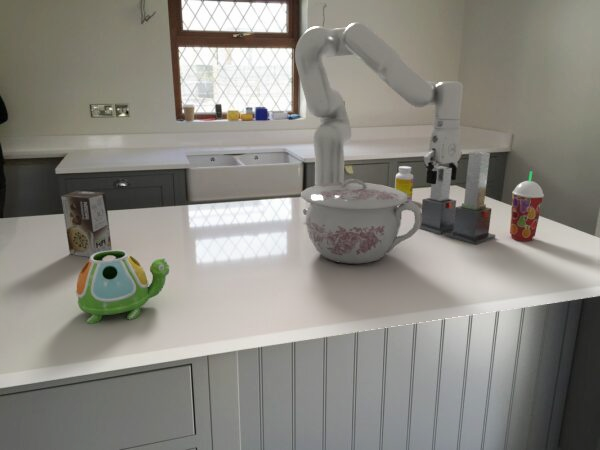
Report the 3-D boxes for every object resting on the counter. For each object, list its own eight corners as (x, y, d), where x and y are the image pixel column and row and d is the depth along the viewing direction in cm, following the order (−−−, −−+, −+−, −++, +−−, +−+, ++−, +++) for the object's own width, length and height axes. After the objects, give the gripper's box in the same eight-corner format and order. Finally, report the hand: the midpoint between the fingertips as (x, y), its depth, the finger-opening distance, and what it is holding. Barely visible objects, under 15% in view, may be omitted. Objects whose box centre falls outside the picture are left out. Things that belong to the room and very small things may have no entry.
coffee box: (113, 250, 135) (106, 192, 130) (96, 258, 129) (89, 198, 125) (85, 247, 138) (78, 189, 133) (68, 254, 132) (60, 195, 127)
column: (438, 227, 154) (444, 169, 149) (426, 223, 158) (430, 167, 152) (448, 224, 157) (453, 167, 152) (435, 221, 160) (440, 165, 155)
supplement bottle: (411, 203, 188) (414, 169, 184) (393, 202, 189) (396, 168, 185) (411, 198, 194) (414, 166, 190) (394, 198, 195) (396, 165, 191)
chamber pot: (284, 245, 140) (284, 172, 134) (369, 234, 150) (372, 166, 144) (329, 283, 115) (331, 195, 109) (427, 266, 126) (434, 185, 120)
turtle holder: (177, 312, 100) (173, 257, 97) (79, 330, 93) (71, 271, 90) (166, 289, 111) (163, 238, 108) (78, 303, 104) (71, 249, 101)
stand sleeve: (440, 234, 151) (443, 205, 148) (414, 226, 158) (416, 199, 156) (459, 228, 157) (462, 200, 154) (433, 221, 164) (436, 194, 162)
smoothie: (537, 236, 150) (547, 170, 144) (537, 244, 142) (547, 175, 136) (507, 232, 153) (515, 168, 147) (505, 240, 146) (514, 172, 140)
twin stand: (475, 244, 142) (485, 156, 135) (445, 236, 149) (453, 152, 142) (494, 238, 148) (505, 153, 140) (465, 230, 155) (474, 149, 148)
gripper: (438, 127, 140) (433, 187, 145) (474, 124, 151) (468, 180, 156) (417, 125, 146) (413, 182, 151) (452, 122, 156) (447, 176, 161)
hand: (441, 181), depth 153 cm, fingers open, 9 cm apart
